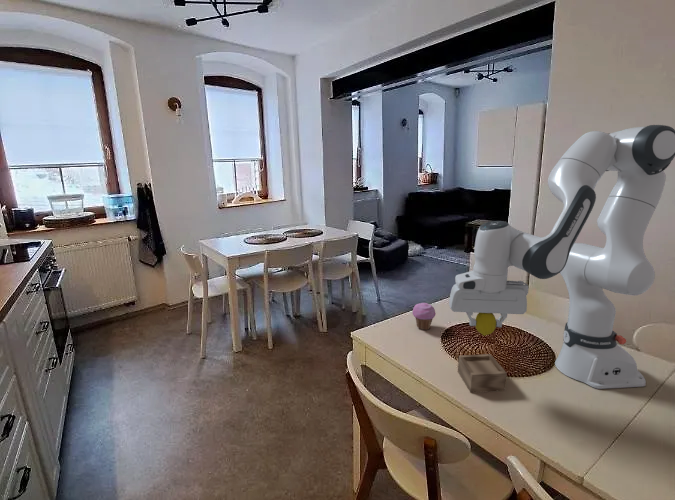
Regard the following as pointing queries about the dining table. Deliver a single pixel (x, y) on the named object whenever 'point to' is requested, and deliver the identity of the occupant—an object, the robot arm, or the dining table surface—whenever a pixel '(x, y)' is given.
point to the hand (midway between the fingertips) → (485, 325)
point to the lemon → (485, 323)
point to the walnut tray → (481, 373)
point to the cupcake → (423, 315)
